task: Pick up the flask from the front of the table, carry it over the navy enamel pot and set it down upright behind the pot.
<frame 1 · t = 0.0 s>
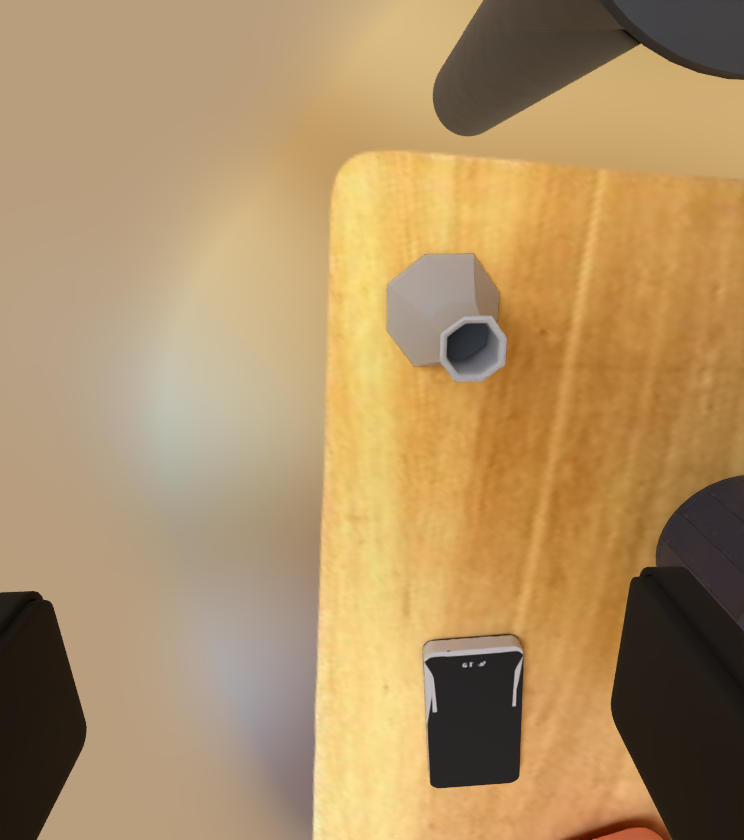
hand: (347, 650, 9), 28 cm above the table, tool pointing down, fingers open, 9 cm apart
flask: (441, 310, 35), on the table
pot: (734, 545, 42), on the table
smartphone: (470, 706, 47), on the table
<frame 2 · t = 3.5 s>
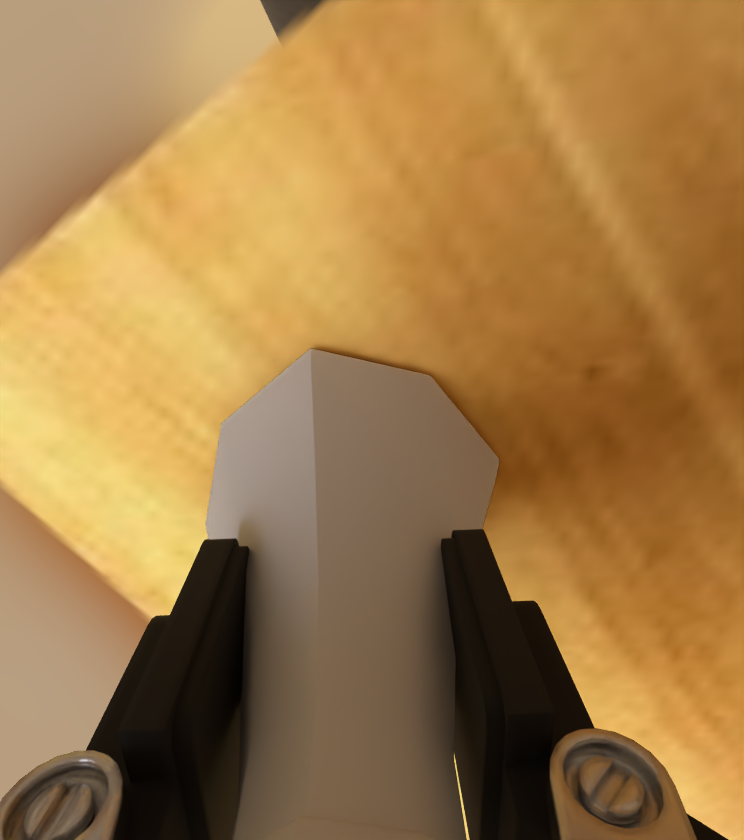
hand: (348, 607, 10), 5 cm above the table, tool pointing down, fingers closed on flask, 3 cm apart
flask: (350, 483, 15), on the table, touching gripper
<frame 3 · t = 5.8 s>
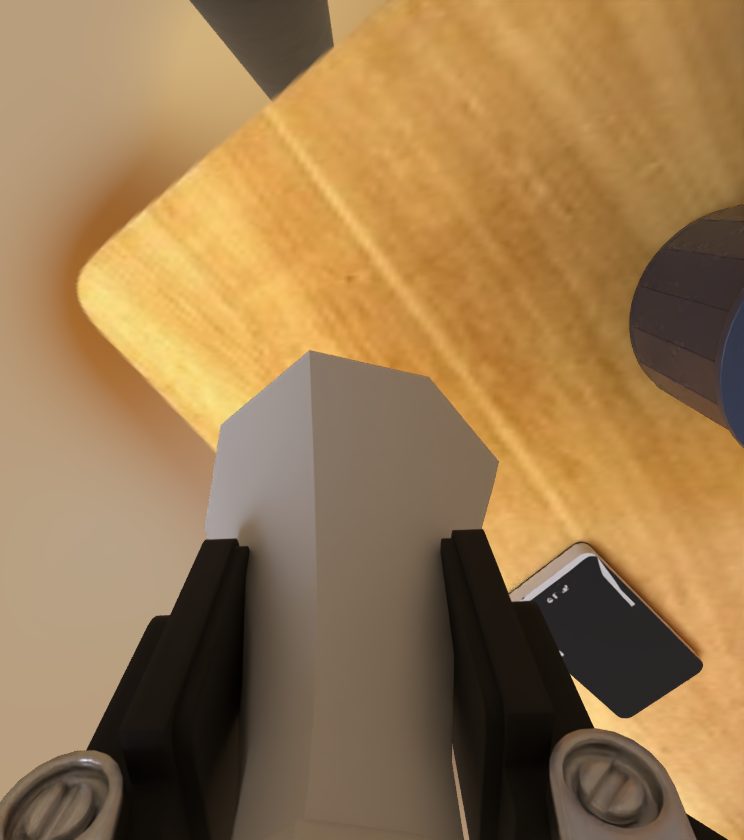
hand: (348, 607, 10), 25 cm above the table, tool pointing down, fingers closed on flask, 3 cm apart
flask: (349, 485, 15), point 20 cm above the table, touching gripper
pot: (725, 308, 34), on the table
smartphone: (599, 627, 42), on the table
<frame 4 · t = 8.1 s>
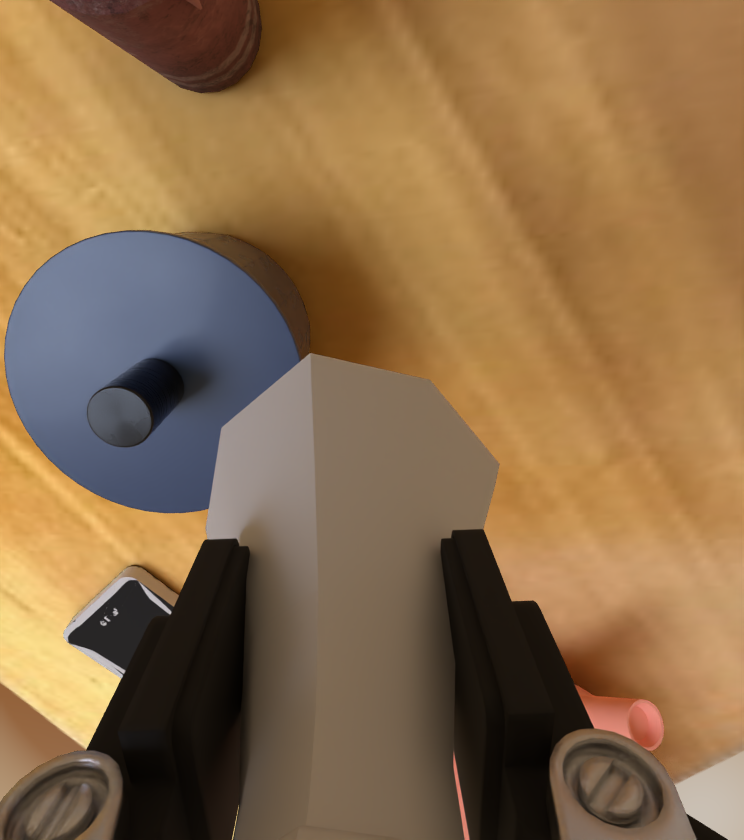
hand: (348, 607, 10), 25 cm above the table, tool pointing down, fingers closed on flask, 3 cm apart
flask: (350, 487, 15), point 20 cm above the table, touching gripper
can: (205, 27, 28), on the table
pot: (212, 335, 34), on the table
smartphone: (183, 649, 42), on the table
teapot: (507, 718, 45), on the table
pot lid: (160, 381, 25), point 9 cm above the table, touching pot
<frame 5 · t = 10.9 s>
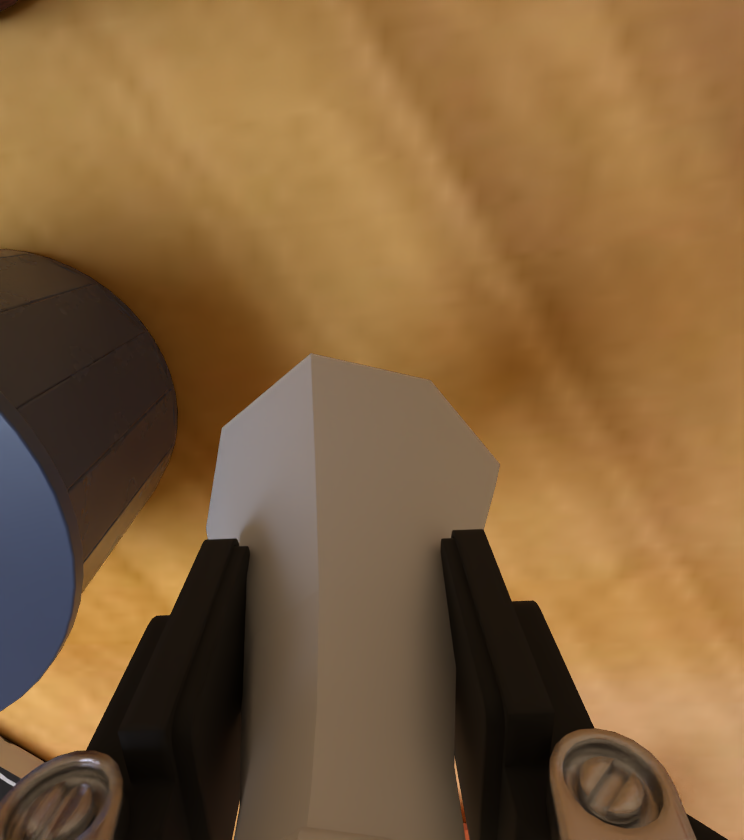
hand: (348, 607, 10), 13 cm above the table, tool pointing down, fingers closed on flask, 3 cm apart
flask: (350, 488, 15), point 8 cm above the table, touching gripper
pot: (28, 401, 22), on the table
smartphone: (38, 812, 31), on the table
when the fingers open (5 cm above the table, at t = 13.1 s): flask stays where it is, on the table.
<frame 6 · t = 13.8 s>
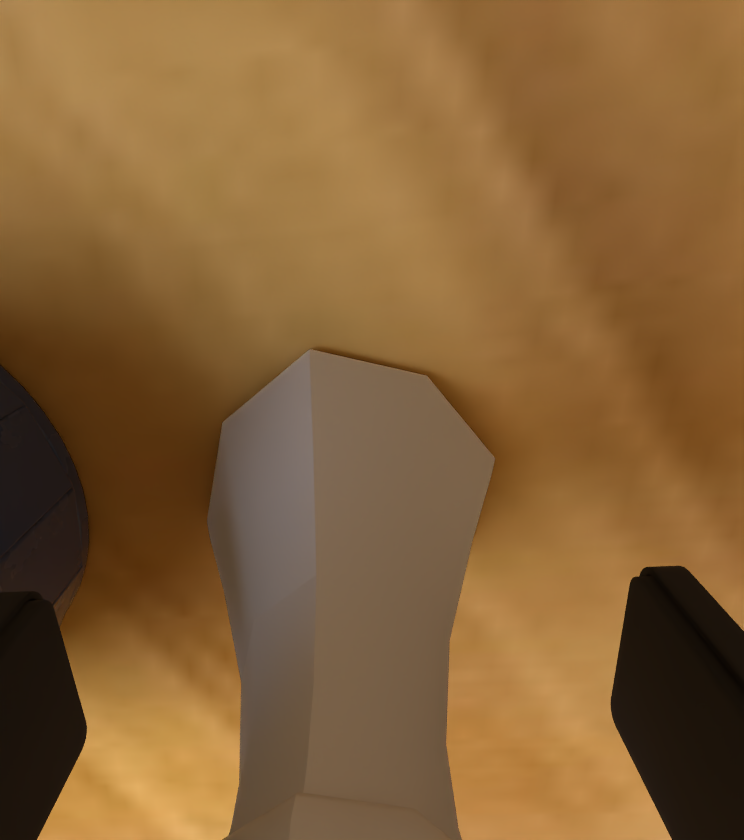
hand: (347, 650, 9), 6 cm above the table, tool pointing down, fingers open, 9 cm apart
flask: (349, 481, 15), on the table
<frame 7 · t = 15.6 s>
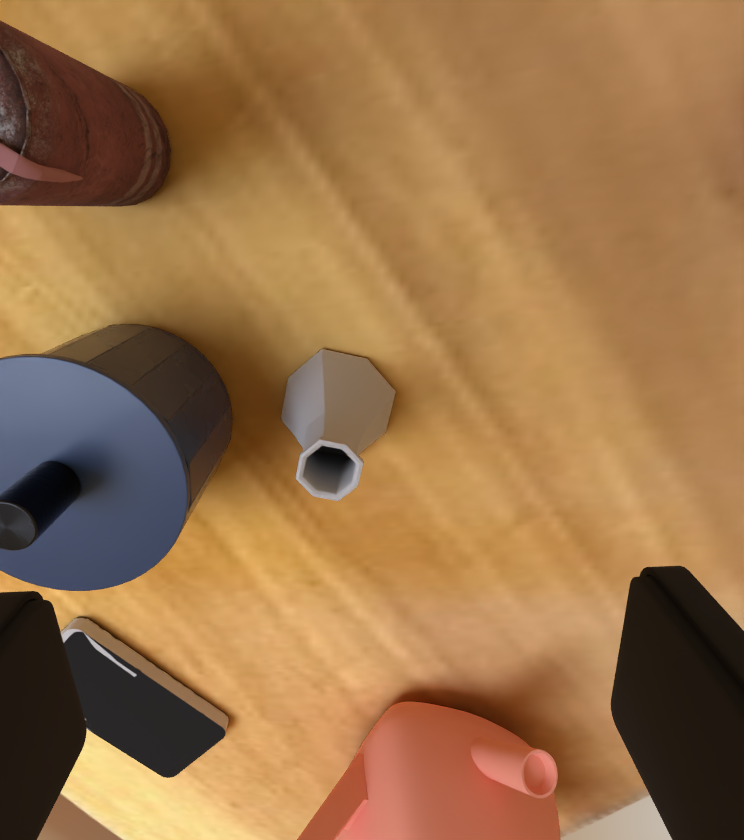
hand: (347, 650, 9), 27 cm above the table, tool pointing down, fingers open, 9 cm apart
flask: (338, 403, 37), on the table
can: (121, 149, 31), on the table
pot: (142, 412, 37), on the table
smartphone: (131, 692, 45), on the table
teapot: (440, 755, 48), on the table
pot lid: (61, 478, 28), point 9 cm above the table, touching pot
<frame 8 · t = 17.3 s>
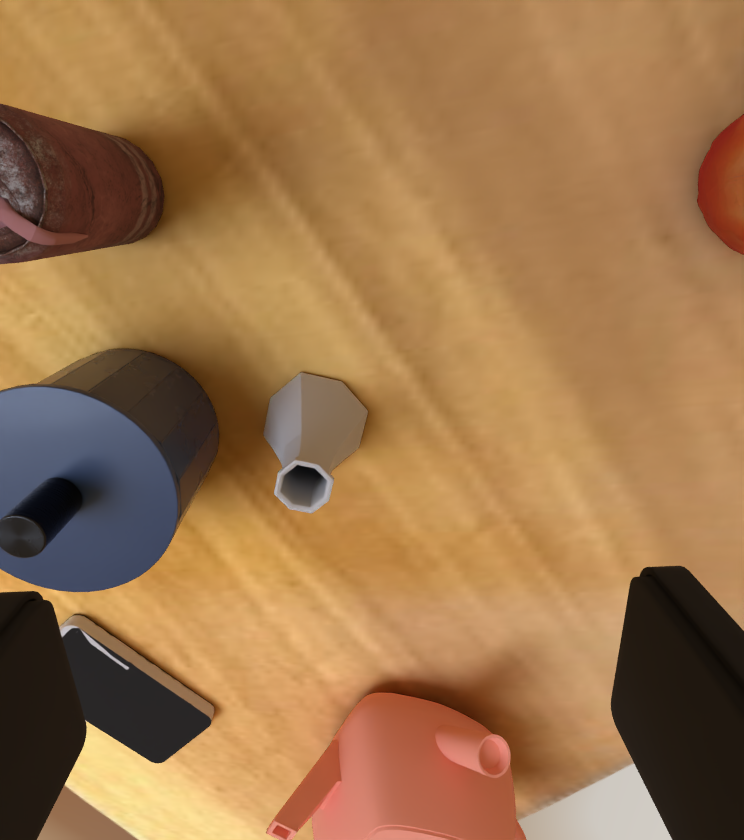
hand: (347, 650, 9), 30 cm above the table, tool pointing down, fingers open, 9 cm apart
flask: (315, 420, 40), on the table
can: (119, 192, 35), on the table
pot: (136, 428, 40), on the table
smartphone: (123, 684, 49), on the table
teapot: (410, 742, 52), on the table
pot lid: (64, 492, 31), point 9 cm above the table, touching pot
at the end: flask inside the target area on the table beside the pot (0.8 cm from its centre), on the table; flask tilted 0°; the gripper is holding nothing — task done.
